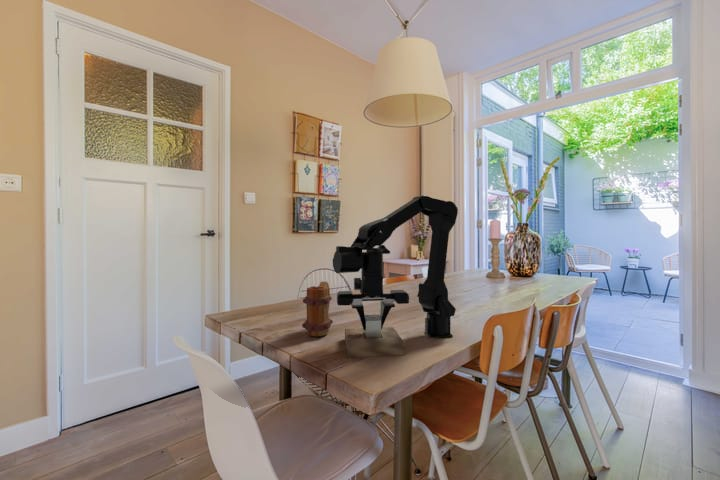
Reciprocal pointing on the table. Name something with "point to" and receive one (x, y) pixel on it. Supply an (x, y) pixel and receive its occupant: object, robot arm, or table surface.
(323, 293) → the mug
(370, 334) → the column
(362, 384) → the table surface
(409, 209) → the robot arm
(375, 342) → the stand block
